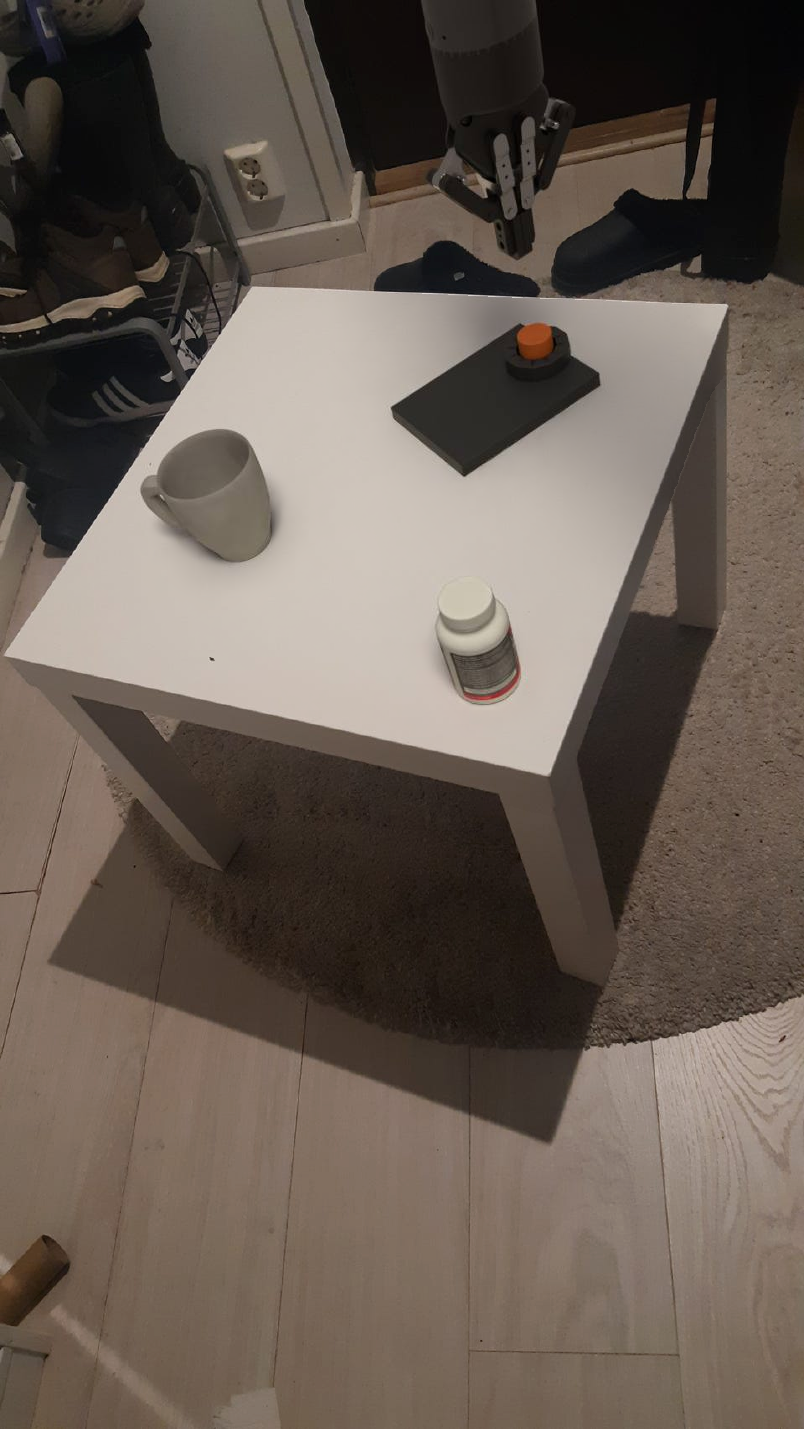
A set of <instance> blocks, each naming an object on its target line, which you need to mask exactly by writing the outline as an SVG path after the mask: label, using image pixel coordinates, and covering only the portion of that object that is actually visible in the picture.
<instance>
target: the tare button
mask: <svg viewBox="0 0 804 1429" xmlns="http://www.w3.org/2000/svg"><path fill="white" fill-rule="evenodd" d="M549 326H550V325H548V324H547V323H544V322H533V323H529V324H527V325H525V327H523V328H522V329H521V330H520V331H519V332H518V335H517V340H518V346H519V352H520V355H521V356H522V357H523V358H524V359H531V360H534V359H538V358H543V357H545V356H547V355H548V354H550V353H551V352H552V350H553V339H552V331H551V328H550V327H549Z"/></svg>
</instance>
